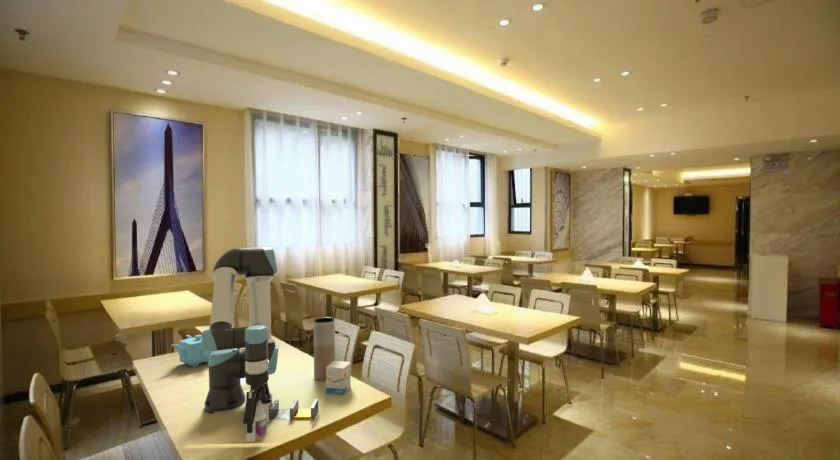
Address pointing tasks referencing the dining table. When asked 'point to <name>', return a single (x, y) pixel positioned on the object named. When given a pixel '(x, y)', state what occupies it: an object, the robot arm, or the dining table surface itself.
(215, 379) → the robot arm
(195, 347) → the teakettle
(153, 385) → the dining table surface
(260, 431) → the pill bottle
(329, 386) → the ink box
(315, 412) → the rack
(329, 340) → the vase
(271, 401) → the filler block
